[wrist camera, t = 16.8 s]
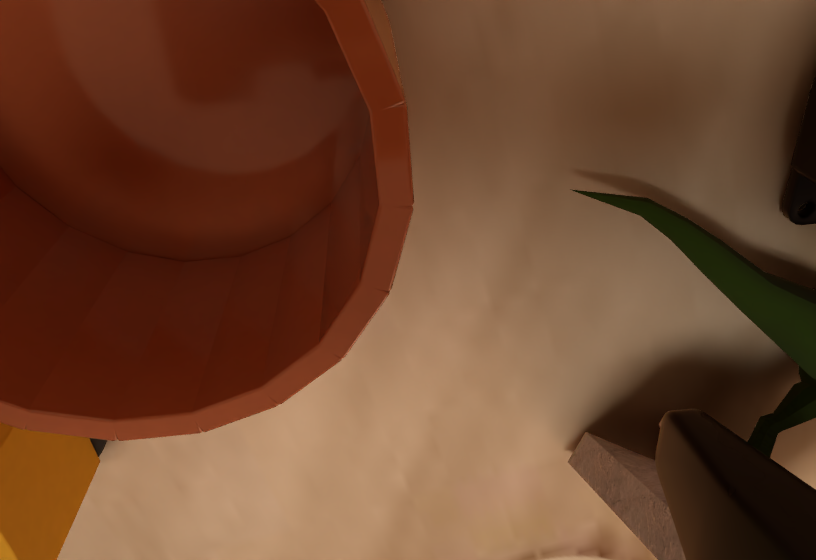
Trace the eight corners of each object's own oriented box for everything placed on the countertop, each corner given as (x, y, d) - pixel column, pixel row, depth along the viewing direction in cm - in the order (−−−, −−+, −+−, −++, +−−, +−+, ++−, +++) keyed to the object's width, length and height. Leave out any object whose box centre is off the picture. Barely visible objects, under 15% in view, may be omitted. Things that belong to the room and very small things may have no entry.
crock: (369, -224, 13) (377, -305, 7) (408, 247, 19) (429, 411, 13) (-178, -179, 13) (-619, -222, 7) (33, 283, 19) (-114, 465, 13)
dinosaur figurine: (1080, 798, 18) (1324, 435, 17) (473, 516, 13) (767, 14, 13) (818, 589, 27) (971, 346, 26) (405, 379, 22) (574, 81, 22)
